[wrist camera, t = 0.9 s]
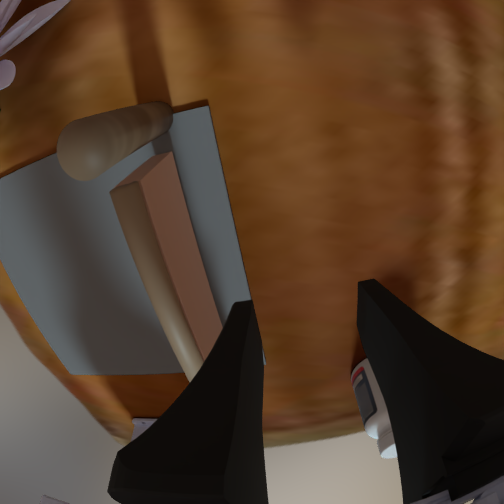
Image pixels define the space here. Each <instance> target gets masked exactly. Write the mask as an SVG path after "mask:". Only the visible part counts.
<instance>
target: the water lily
mask: <svg viewBox="0 0 504 504" xmlns="http://www.w3.org/2000/svg"><path fill="white" fill-rule="evenodd" d="M69 1H71V0H56V1H53V2H50V3H48V4H45V5H43V6H41V7H39V8H37V9H35V10H33V11H32V12H30V13H28V14H27V15H25V16H24V17H23V18H21V19H20V20H19V21H17V22H16V23H15V24H14V25H13V26H12V27H11V28H10V29H9V30H8V31H7V32H6V33H4V35H3V36H2V37H1V38H0V56H2V55H3V54H5V53H6V52H8V51H9V50H11V49H12V48H13V47H15V46H16V45H18V44H19V43H20V42H22V41H23V40H24V39H26V38H27V37H28V36H30V35H31V34H32V33H34V32H35V31H36V30H37V29H39V28H40V27H41V26H42V25H43V24H45V23H46V22H47V21H48V20H49V19H51V18H52V17H53V16H54V15H55V14H56V13H57V12H59V11H60V10H61V9H62V8H63V7H64V6H65V5H66V4H67V3H68V2H69ZM20 2H21V0H2V1H1V2H0V33H1V31H2V30H3V28H4V27H5V25H6V24H7V22H8V21H9V19H10V18H11V16H12V15H13V13H14V12H15V10H16V8H17V7H18V5H19V4H20ZM15 72H16V68H15V65H14V63H13V62H12V61H10V60H1V61H0V90H2V89H4V88H6V87H7V86H9V85H10V84H11V83H12V82H13V80H14V77H15ZM0 111H1V109H0Z"/></svg>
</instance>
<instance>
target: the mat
mask: <svg viewBox="0 0 504 504" xmlns="http://www.w3.org/2000/svg"><path fill="white" fill-rule="evenodd" d="M171 151H172V153H173V157H174V161H175V165H176V169H177V172H178V176H179V180H180V184H181V188H182V191H183V195H184V199H185V203H186V206H187V210H188V214H189V217H190V221H191V224H192V228H193V231H194V235H195V238H196V242H197V245H198V249H199V252H200V256H201V259H202V262H203V266H204V269H205V272H206V276H207V279H208V282H209V286H210V289H211V292H212V295H213V299H214V302H215V305H216V308H217V311H218V314H219V318H220V321H221V324H222V327H223V326H224V324H225V322H226V320H227V317H228V315H229V312H230V310H231V307H232V305H233V304H234V302H239V301H246V300H252V299H251V295H250V291H249V286H248V282H247V277H246V273H245V269H244V264H243V260H242V255H241V251H240V246H239V242H238V237H237V233H236V228H235V224H234V219H233V215H232V210H231V206H230V201H229V197H228V192H227V188H226V183H225V178H224V174H223V169H222V165H221V160H220V155H219V151H218V146H217V142H216V137H215V132H214V128H213V123H212V118H211V113H210V109H209V106H204V107H200V108H195V109H191V110H187V111H183V112H179V113H175V114H173V123H172V126H171V127H170V129H169V130H168V131H167V132H166V133H164V134H163V135H161V136H159V137H158V138H156V139H154V140H153V141H151V142H149V143H148V144H146V145H145V146H143V147H141V148H140V149H138V150H137V151H135V152H134V153H132V154H130V155H129V156H127V157H126V158H124V159H123V160H121V161H120V162H118V163H117V164H115V165H114V166H112V167H111V168H109V169H108V170H107V171H105V172H104V173H102V174H101V175H99V176H98V177H96V178H95V179H92V180H89V181H80V180H76V179H74V178H72V177H70V176H69V175H68V174H67V173H66V172H65V171H64V170H63V169H62V167H61V165H60V163H59V160H58V157H57V153H55V154H52V155H50V156H48V157H45V158H43V159H41V160H38V161H36V162H34V163H32V164H30V165H27V166H25V167H23V168H21V169H19V170H17V171H15V172H13V173H11V174H9V175H7V176H5V177H3V178H1V179H0V260H1V262H2V264H3V266H4V268H5V270H6V272H7V274H8V276H9V278H10V280H11V282H12V283H13V285H14V287H15V289H16V291H17V293H18V294H19V296H20V298H21V300H22V301H23V303H24V305H25V307H26V308H27V310H28V312H29V313H30V315H31V317H32V318H33V320H34V322H35V323H36V325H37V326H38V328H39V329H40V331H41V333H42V334H43V336H44V337H45V339H46V340H47V342H48V343H49V345H50V346H51V348H52V349H53V350H54V352H55V353H56V355H57V356H58V358H59V359H60V360H61V362H62V363H63V364H64V366H65V367H66V368H67V370H68V371H69V372H70V374H74V375H144V374H168V373H184V371H183V369H182V367H181V365H180V363H179V361H178V359H177V357H176V355H175V353H174V351H173V349H172V347H171V345H170V342H169V340H168V338H167V336H166V334H165V332H164V330H163V328H162V325H161V323H160V321H159V319H158V317H157V314H156V312H155V310H154V308H153V305H152V303H151V301H150V299H149V296H148V294H147V292H146V289H145V287H144V284H143V282H142V280H141V277H140V275H139V272H138V270H137V267H136V265H135V262H134V260H133V257H132V255H131V252H130V250H129V247H128V244H127V242H126V239H125V236H124V234H123V231H122V228H121V225H120V222H119V220H118V217H117V214H116V211H115V208H114V205H113V202H112V199H111V196H110V193H109V192H110V191H111V190H112V189H114V187H115V186H116V185H118V184H119V183H120V182H121V181H122V180H123V179H125V178H126V177H127V176H128V175H129V174H131V173H132V172H133V171H134V170H135V169H137V168H138V167H139V166H140V165H142V164H143V163H144V162H145V161H147V160H148V159H149V158H150V157H152V156H155V155H159V154H163V153H167V152H171ZM262 350H263V347H262ZM263 361H264V365H265V364H266V360H265V356H264V351H263Z"/></svg>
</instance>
